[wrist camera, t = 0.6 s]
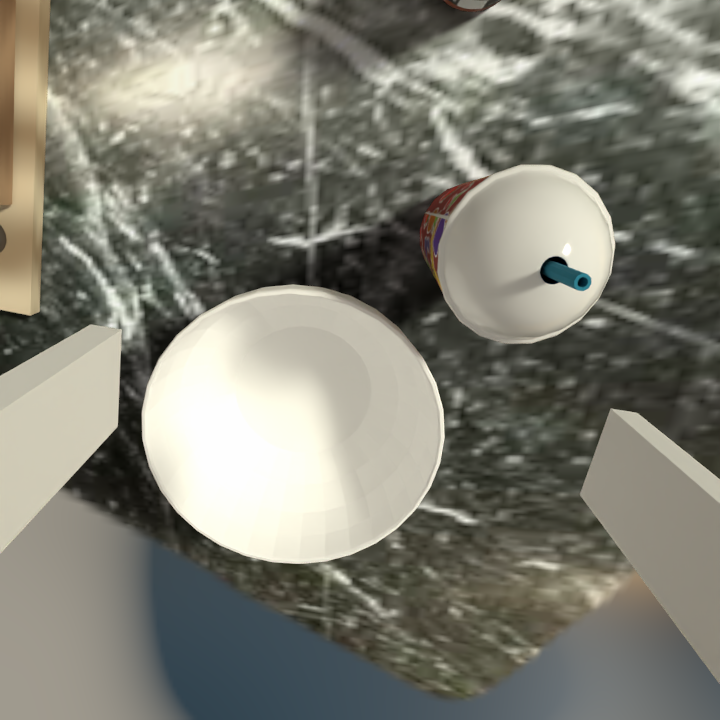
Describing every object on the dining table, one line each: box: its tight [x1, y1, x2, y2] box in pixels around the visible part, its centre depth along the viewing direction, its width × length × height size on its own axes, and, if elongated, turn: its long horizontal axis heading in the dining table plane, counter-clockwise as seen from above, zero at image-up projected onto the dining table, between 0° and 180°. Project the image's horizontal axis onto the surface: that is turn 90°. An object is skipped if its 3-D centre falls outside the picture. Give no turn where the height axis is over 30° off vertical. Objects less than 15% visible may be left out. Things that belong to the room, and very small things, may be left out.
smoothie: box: [420, 165, 615, 344], centre depth 29 cm, size 8×8×20 cm
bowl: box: [142, 284, 445, 564], centre depth 37 cm, size 19×19×9 cm
